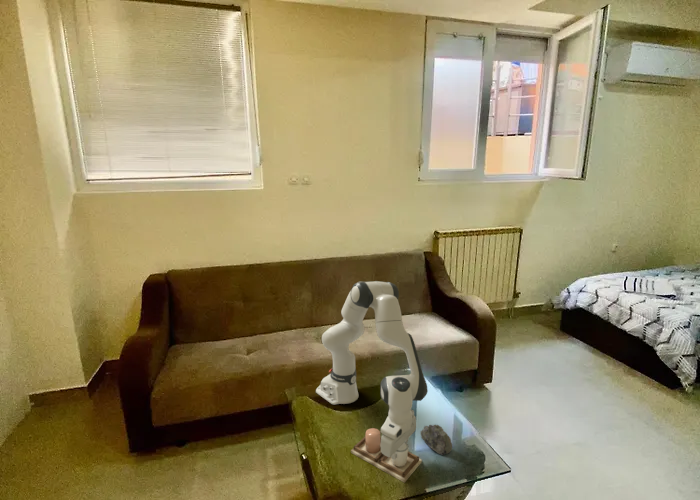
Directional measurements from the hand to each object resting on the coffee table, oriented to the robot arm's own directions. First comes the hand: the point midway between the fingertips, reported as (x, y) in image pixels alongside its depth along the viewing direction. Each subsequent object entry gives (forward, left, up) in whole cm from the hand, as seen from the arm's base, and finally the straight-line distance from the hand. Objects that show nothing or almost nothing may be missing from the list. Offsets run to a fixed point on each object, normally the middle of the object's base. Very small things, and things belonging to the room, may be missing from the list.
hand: (399, 452), depth 151 cm
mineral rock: (+6, +19, -6) cm, 21 cm away
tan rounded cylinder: (-12, 0, -4) cm, 13 cm away
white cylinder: (0, 0, -4) cm, 4 cm away
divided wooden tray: (-6, 0, -5) cm, 8 cm away
